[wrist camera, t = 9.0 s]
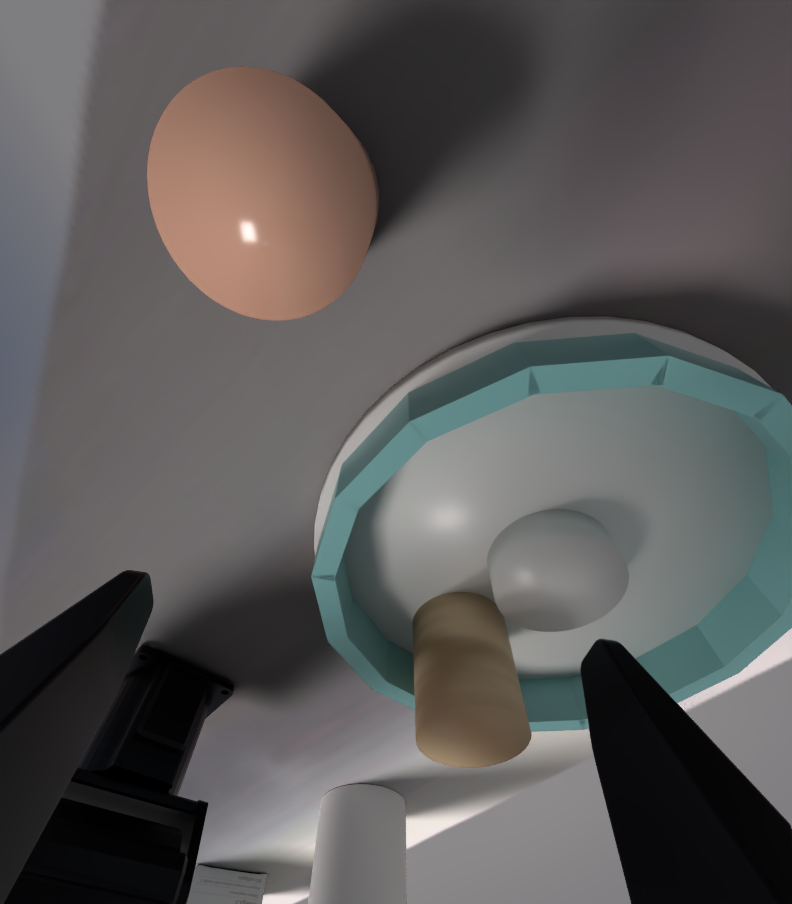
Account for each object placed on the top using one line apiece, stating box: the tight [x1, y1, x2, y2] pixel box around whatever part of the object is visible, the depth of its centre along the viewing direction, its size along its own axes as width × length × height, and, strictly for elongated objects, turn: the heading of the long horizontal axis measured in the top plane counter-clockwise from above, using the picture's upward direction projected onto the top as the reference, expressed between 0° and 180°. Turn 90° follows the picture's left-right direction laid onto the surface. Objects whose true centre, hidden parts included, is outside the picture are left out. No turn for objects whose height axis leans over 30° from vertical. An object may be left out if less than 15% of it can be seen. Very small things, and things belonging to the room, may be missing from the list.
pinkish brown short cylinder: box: [147, 66, 380, 321], centre depth 13 cm, size 5×5×6 cm
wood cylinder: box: [413, 592, 531, 768], centre depth 22 cm, size 5×5×6 cm
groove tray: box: [311, 316, 792, 732], centre depth 22 cm, size 23×23×4 cm
